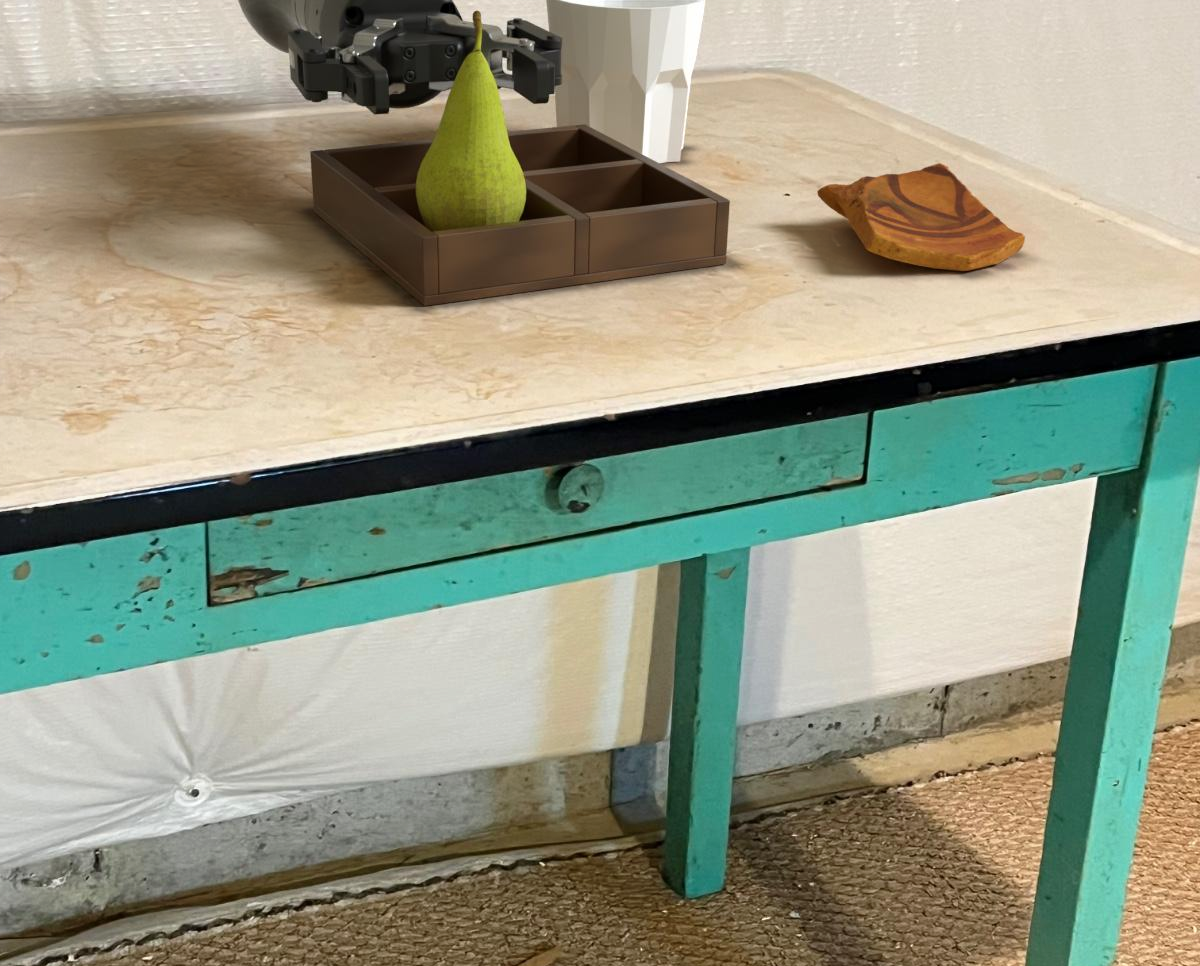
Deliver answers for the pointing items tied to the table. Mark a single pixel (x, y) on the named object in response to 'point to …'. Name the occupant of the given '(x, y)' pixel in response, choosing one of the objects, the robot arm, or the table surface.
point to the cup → (628, 69)
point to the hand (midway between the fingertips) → (464, 88)
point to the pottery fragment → (923, 220)
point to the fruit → (471, 155)
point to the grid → (525, 217)
